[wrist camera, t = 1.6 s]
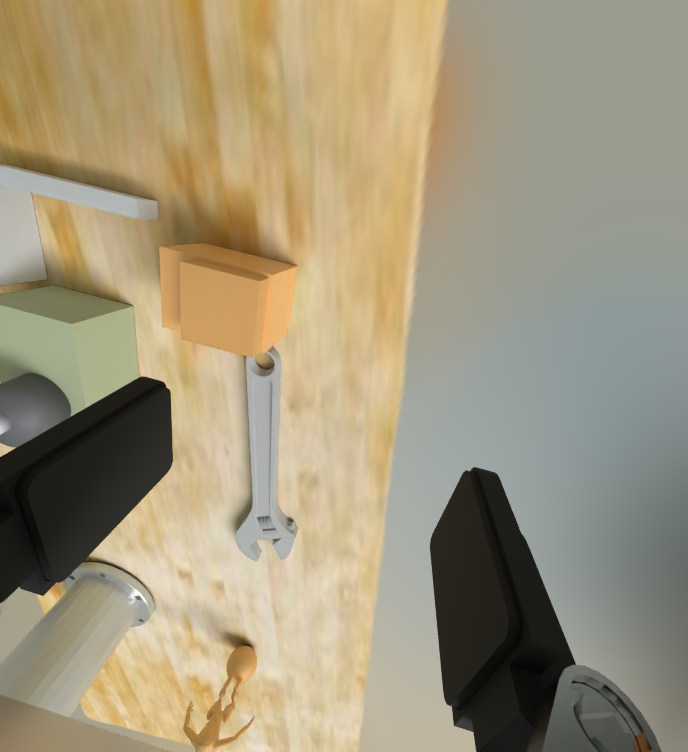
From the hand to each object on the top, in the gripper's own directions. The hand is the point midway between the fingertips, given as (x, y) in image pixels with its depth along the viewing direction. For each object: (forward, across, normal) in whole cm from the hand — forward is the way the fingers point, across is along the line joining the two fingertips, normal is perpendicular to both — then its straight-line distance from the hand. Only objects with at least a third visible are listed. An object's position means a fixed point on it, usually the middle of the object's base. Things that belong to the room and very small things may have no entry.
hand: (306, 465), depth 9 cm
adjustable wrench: (+17, +5, +17) cm, 24 cm away
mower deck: (+16, +22, +6) cm, 28 cm away
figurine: (+16, +5, +50) cm, 53 cm away
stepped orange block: (+16, +9, 0) cm, 19 cm away
